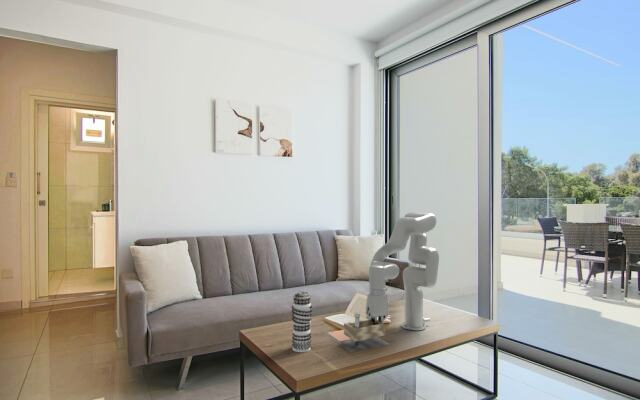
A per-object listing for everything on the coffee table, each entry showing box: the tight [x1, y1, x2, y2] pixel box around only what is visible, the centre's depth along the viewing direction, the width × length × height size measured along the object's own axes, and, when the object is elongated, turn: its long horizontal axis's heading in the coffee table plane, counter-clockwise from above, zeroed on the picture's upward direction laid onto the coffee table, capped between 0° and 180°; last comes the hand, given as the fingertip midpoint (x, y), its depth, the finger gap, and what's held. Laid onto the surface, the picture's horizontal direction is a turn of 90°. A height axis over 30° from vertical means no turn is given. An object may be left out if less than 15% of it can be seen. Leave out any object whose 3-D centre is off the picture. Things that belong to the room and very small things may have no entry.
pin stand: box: [323, 312, 391, 353], centre depth 185 cm, size 21×26×16 cm
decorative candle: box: [291, 291, 313, 353], centre depth 175 cm, size 9×9×25 cm
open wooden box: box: [343, 318, 386, 341], centre depth 179 cm, size 16×10×5 cm, turn 116°
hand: (377, 330), depth 182 cm, fingers closed on open wooden box, 1 cm apart
